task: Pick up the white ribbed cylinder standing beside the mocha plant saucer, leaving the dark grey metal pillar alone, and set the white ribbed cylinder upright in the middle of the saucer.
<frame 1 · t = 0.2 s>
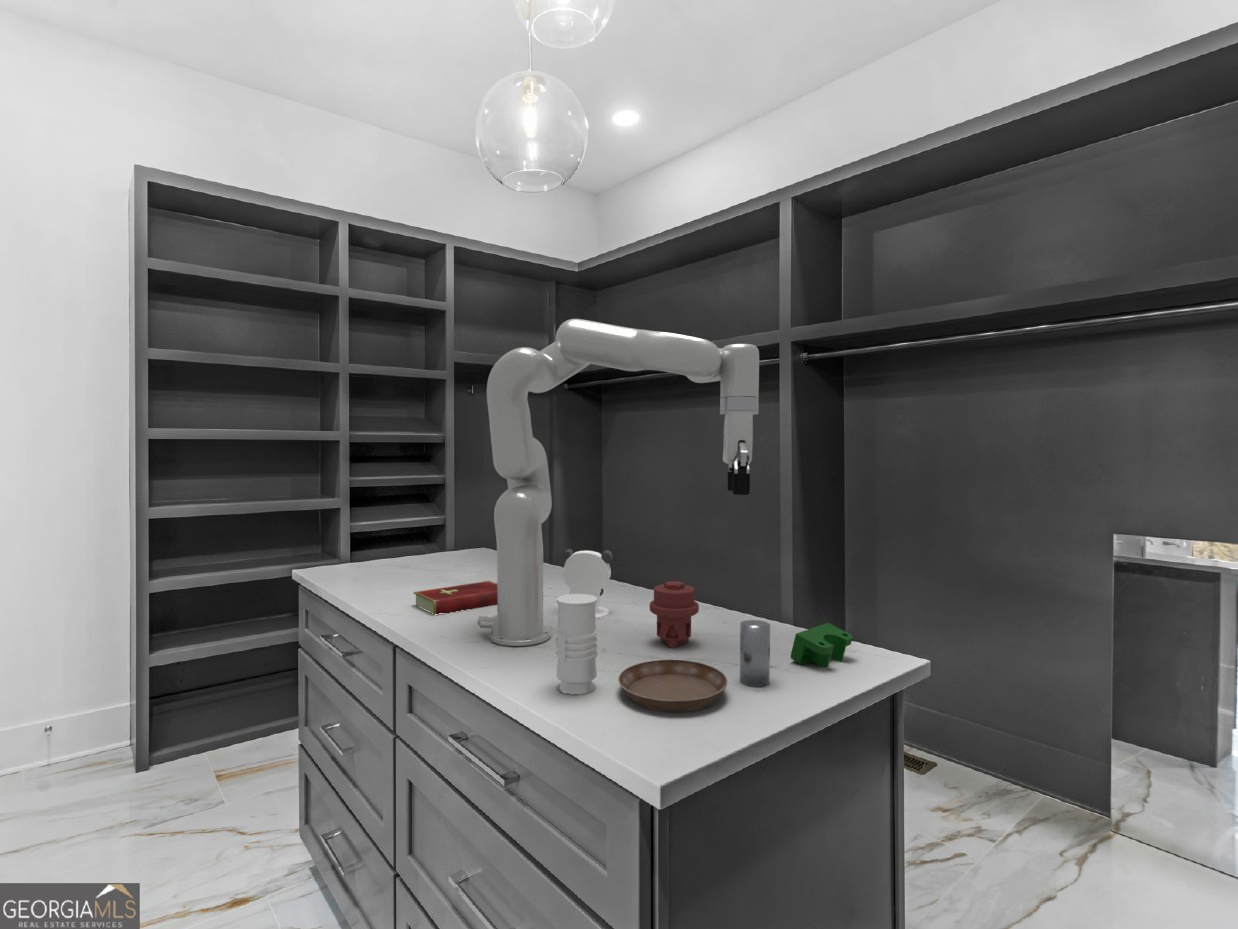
hand: (738, 492, 130), 31 cm above the counter, tool pointing down, fingers open, 9 cm apart
mechanical component: (673, 644, 133), on the counter
plant saucer: (672, 697, 106), on the counter
hardcover book: (463, 606, 164), on the counter
white ribbed cylinder: (576, 689, 108), on the counter
panda figurine: (586, 613, 156), on the counter
metal pillar: (754, 681, 112), on the counter
clamp: (822, 662, 122), on the counter
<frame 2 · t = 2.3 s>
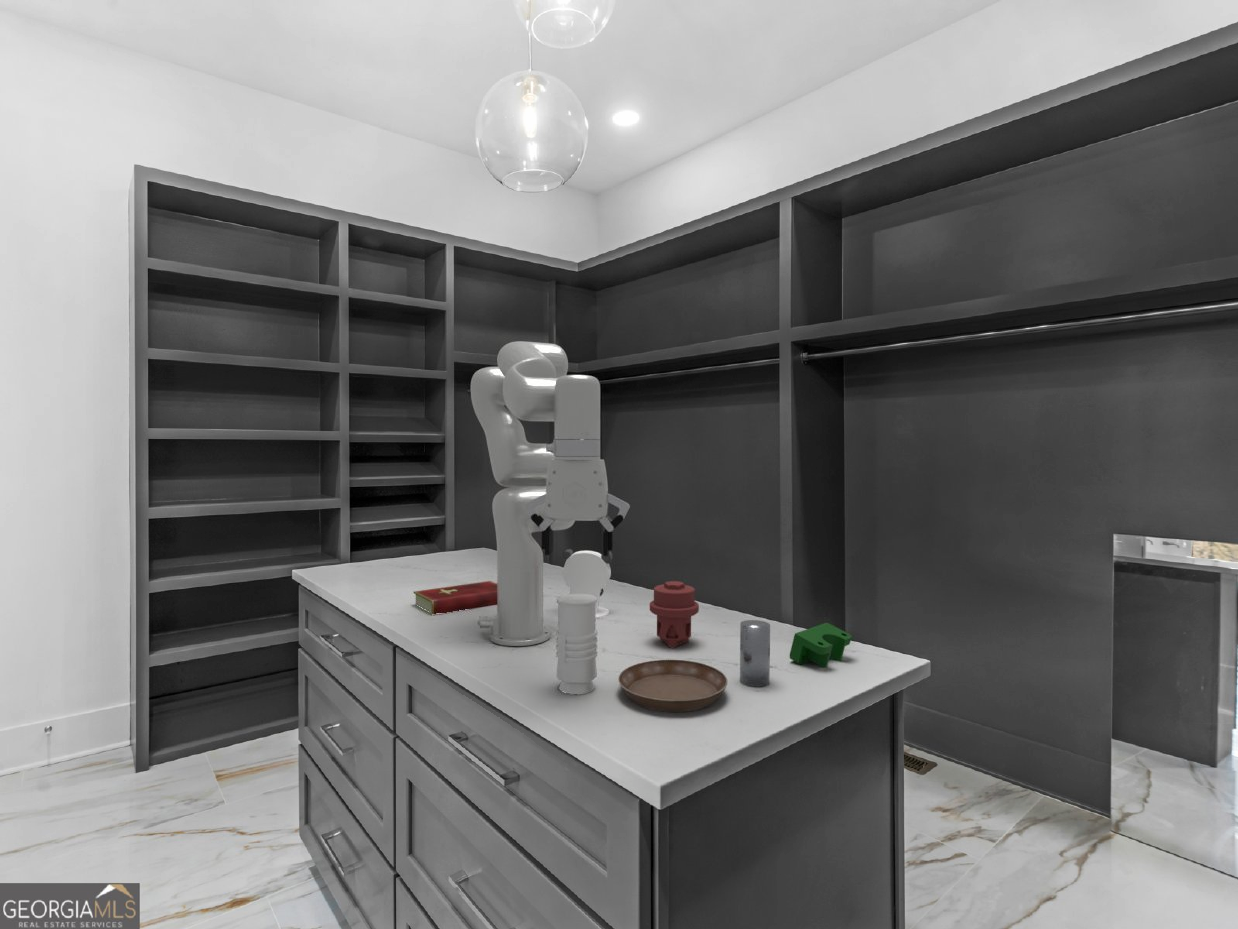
hand: (577, 554, 107), 22 cm above the counter, tool pointing down, fingers open, 9 cm apart
nothing on the counter moved.
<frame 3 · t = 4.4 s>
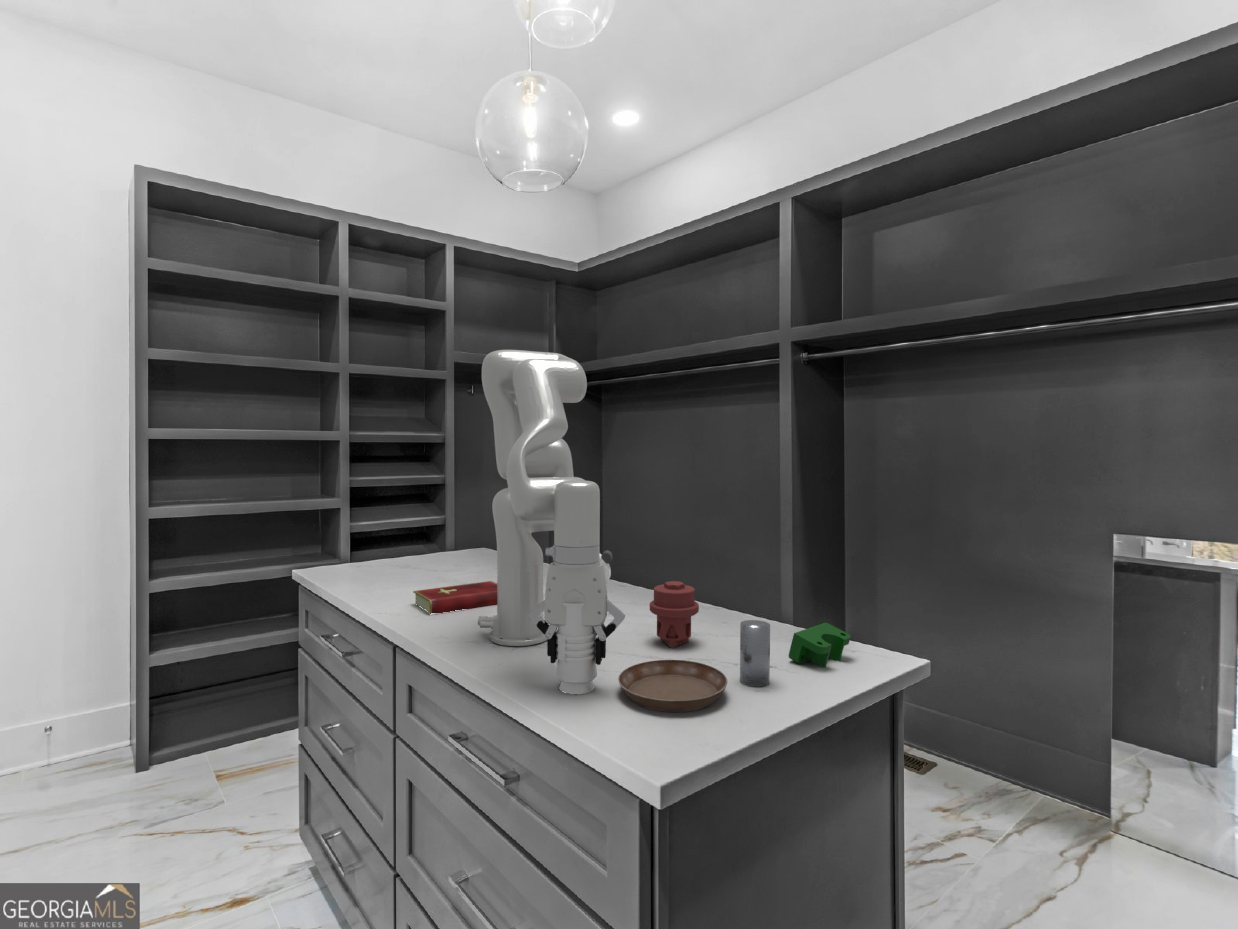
hand: (576, 660, 108), 5 cm above the counter, tool pointing down, fingers closed on white ribbed cylinder, 6 cm apart
white ribbed cylinder: (576, 688, 108), on the counter, touching gripper
everything else where it was.
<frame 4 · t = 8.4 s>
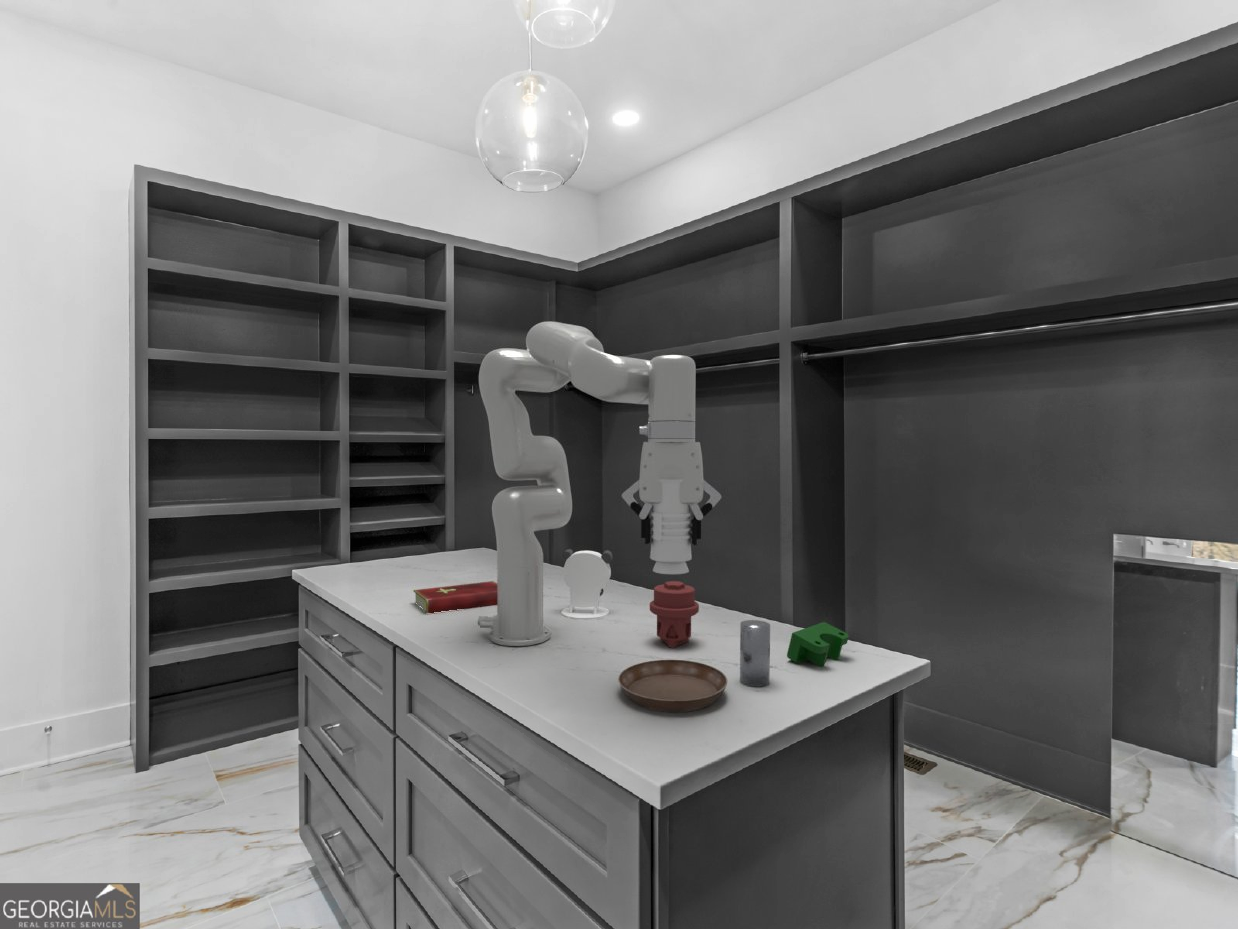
hand: (671, 542, 105), 25 cm above the counter, tool pointing down, fingers closed on white ribbed cylinder, 6 cm apart
white ribbed cylinder: (670, 571, 105), point 20 cm above the counter, touching gripper
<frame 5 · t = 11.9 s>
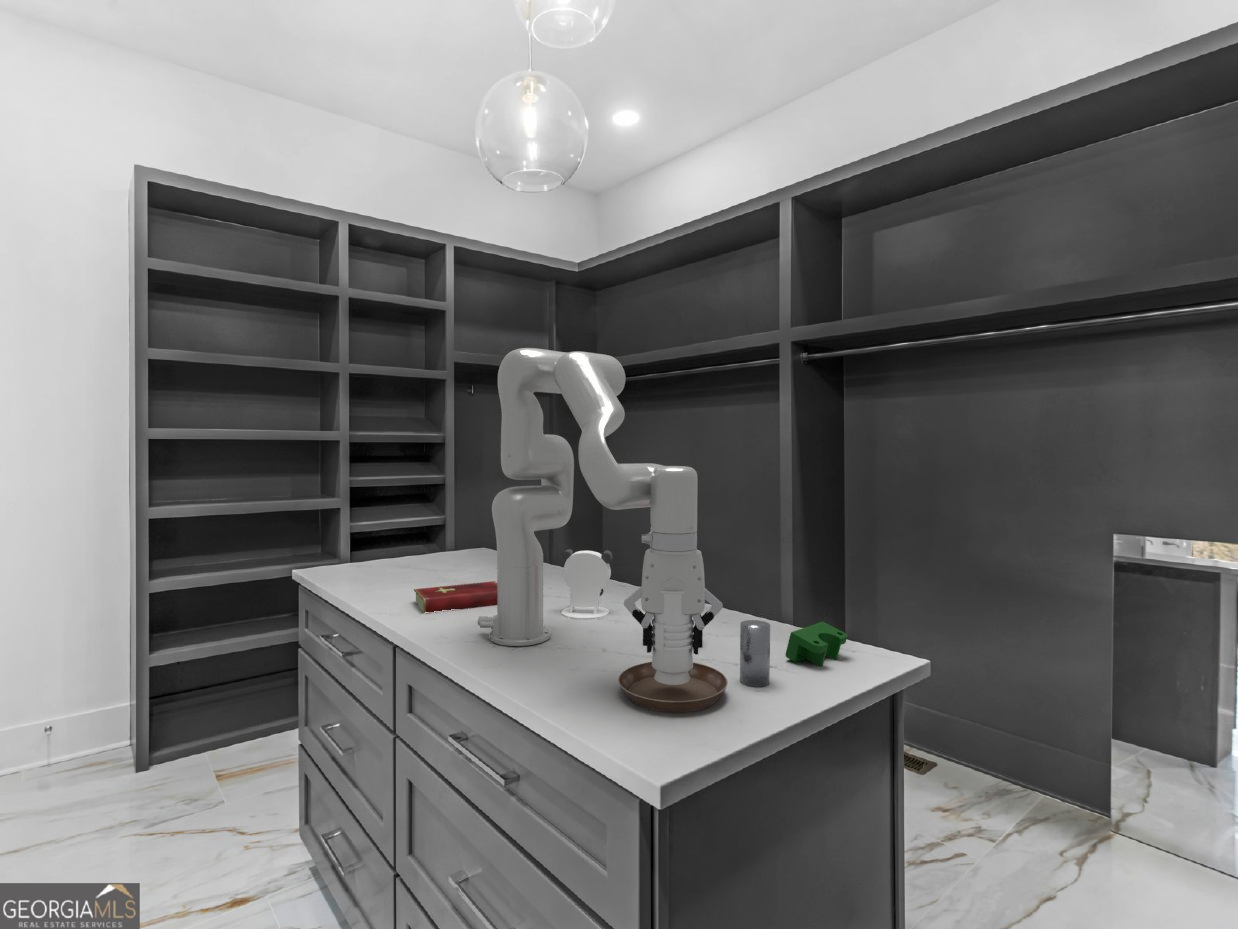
hand: (672, 650, 106), 7 cm above the counter, tool pointing down, fingers closed on white ribbed cylinder, 6 cm apart
plant saucer: (672, 698, 106), on the counter, touching white ribbed cylinder
white ribbed cylinder: (672, 679, 106), point 2 cm above the counter, touching gripper, plant saucer
when the fingers open (7 cm above the counter, at t = 12.7 s): white ribbed cylinder stays where it is, resting on plant saucer.
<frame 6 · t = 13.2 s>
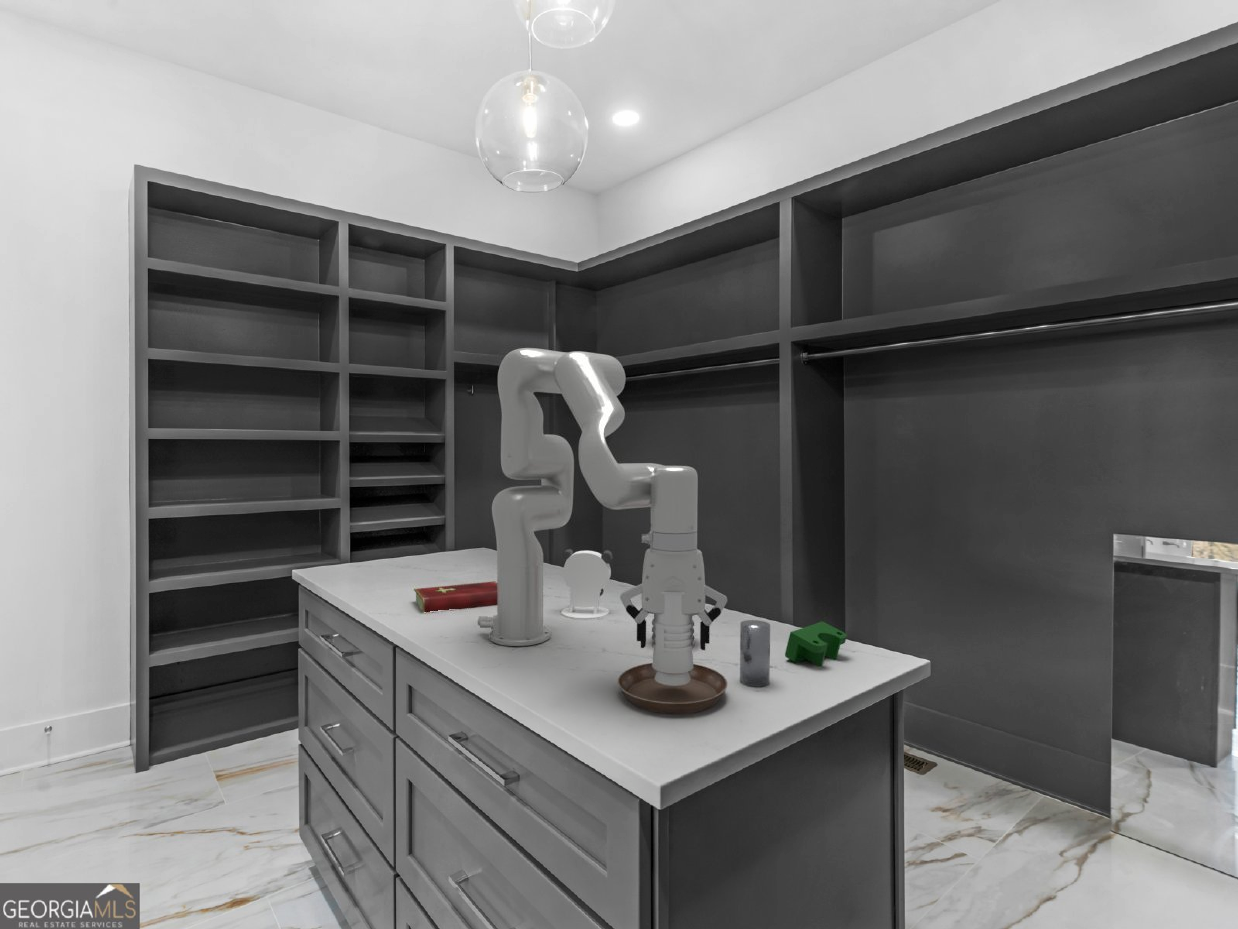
hand: (672, 646, 106), 8 cm above the counter, tool pointing down, fingers open, 9 cm apart
white ribbed cylinder: (672, 680, 106), point 2 cm above the counter, touching plant saucer
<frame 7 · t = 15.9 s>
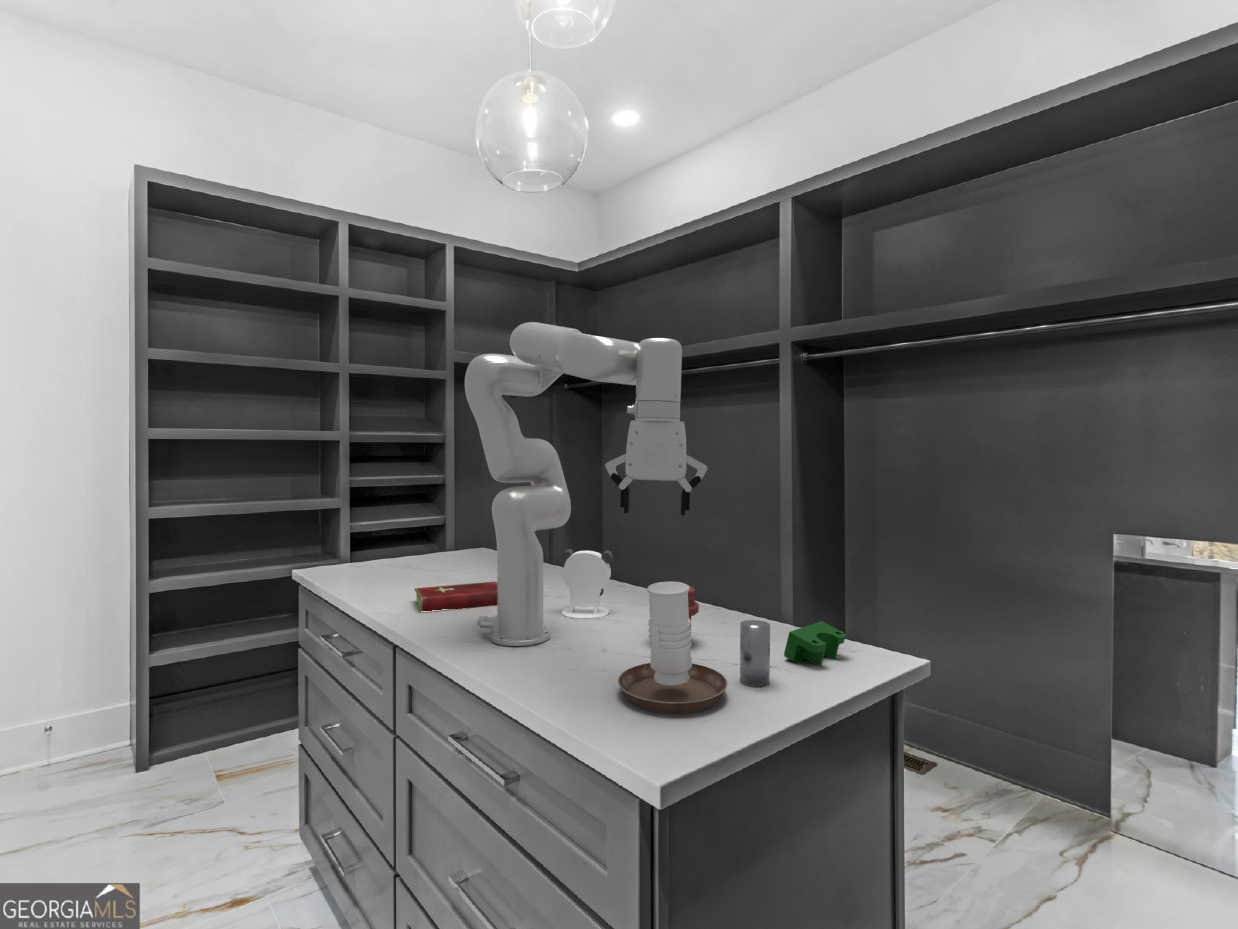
hand: (654, 513, 111), 29 cm above the counter, tool pointing down, fingers open, 9 cm apart
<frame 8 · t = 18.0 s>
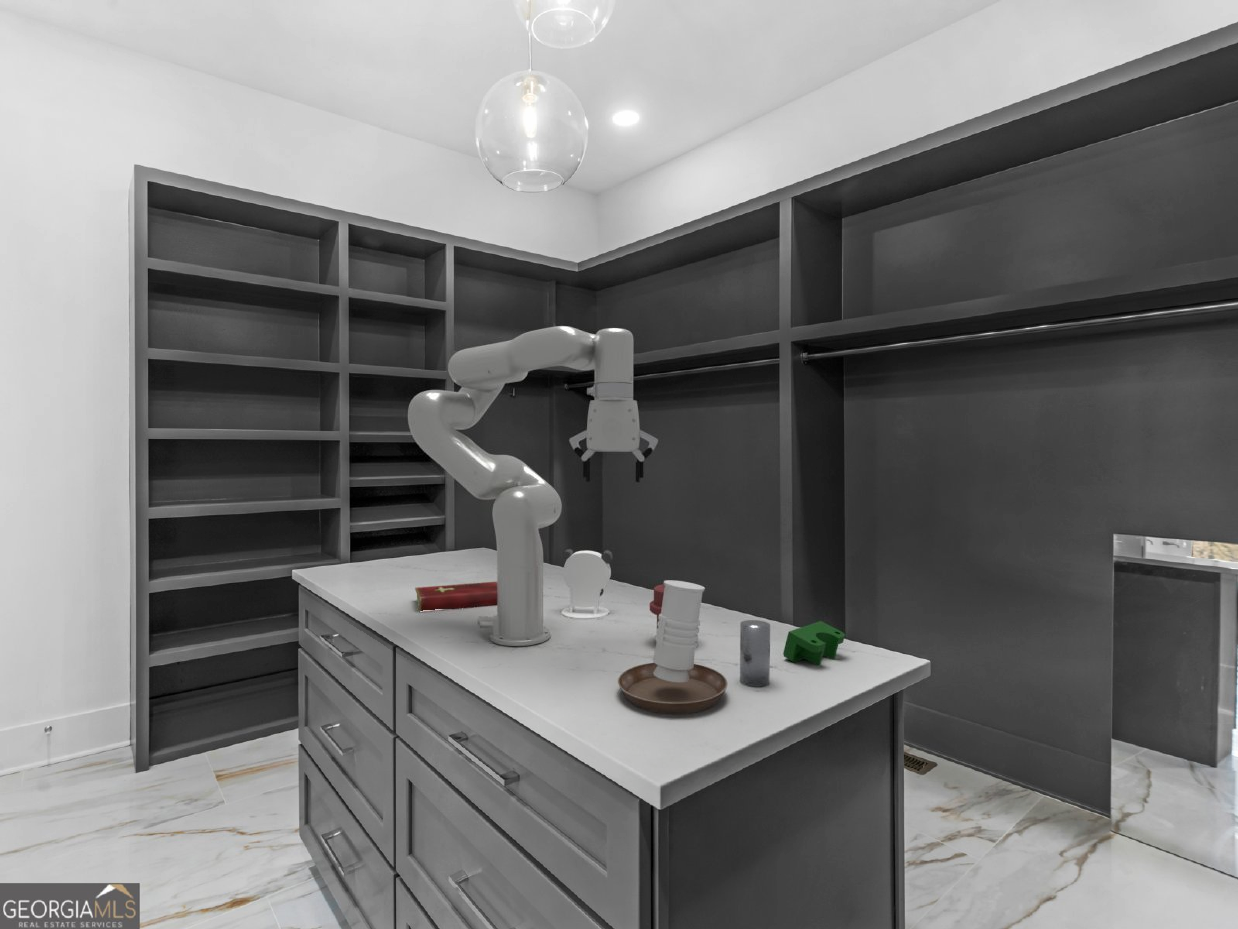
hand: (613, 481, 127), 33 cm above the counter, tool pointing down, fingers open, 9 cm apart
at the end: white ribbed cylinder 0.4 cm from the plant saucer (horizontally); white ribbed cylinder tilted 7°; the gripper is holding nothing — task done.
